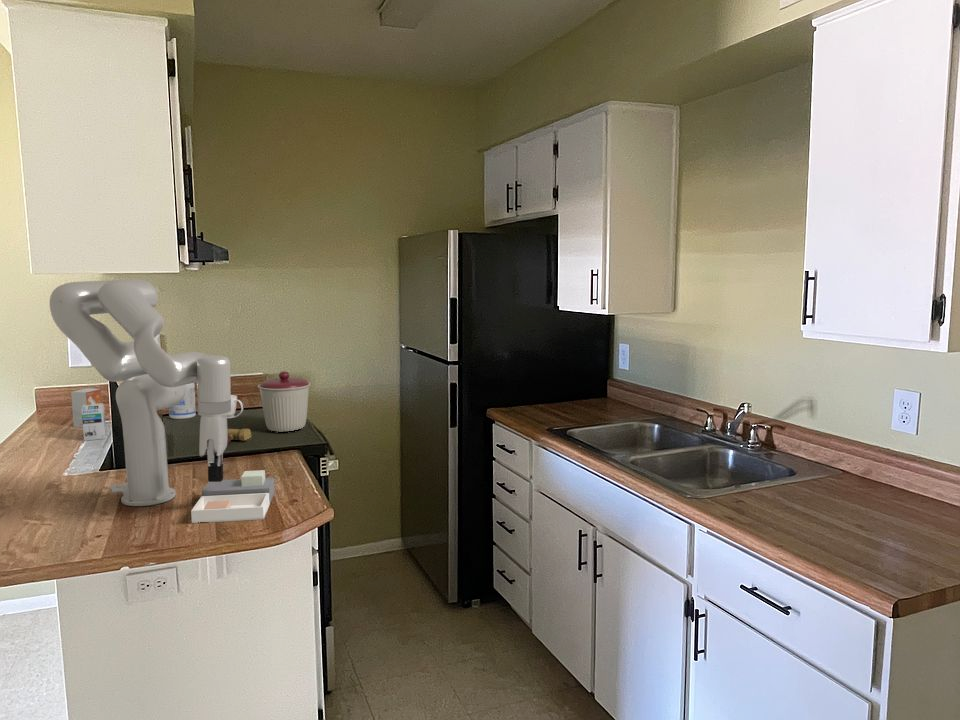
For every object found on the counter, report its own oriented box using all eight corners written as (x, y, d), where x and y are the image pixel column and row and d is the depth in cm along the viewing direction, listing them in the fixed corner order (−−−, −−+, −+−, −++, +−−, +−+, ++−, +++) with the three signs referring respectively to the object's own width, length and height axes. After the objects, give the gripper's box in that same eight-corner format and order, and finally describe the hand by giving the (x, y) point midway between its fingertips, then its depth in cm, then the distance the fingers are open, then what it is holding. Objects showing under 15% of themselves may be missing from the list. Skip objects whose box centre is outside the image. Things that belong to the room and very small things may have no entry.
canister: (289, 438, 245) (286, 376, 242) (248, 432, 252) (245, 373, 250) (322, 426, 261) (320, 369, 258) (283, 422, 269) (281, 366, 266)
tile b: (241, 486, 179) (241, 476, 179) (245, 480, 184) (244, 471, 184) (262, 485, 180) (262, 475, 180) (265, 479, 185) (264, 470, 185)
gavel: (216, 446, 222) (187, 445, 224) (217, 461, 223) (188, 459, 225) (251, 427, 242) (224, 425, 244) (252, 440, 243) (225, 438, 245)
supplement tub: (166, 420, 273) (164, 381, 271) (172, 414, 282) (170, 377, 280) (193, 419, 275) (191, 381, 273) (198, 413, 284) (196, 377, 282)
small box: (88, 427, 261) (85, 392, 260) (73, 426, 262) (70, 391, 261) (103, 422, 269) (101, 388, 267) (89, 422, 270) (86, 387, 269)
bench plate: (202, 507, 176) (201, 491, 176) (210, 495, 185) (209, 480, 185) (270, 503, 179) (269, 488, 178) (274, 492, 187) (274, 477, 187)
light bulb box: (105, 439, 244) (103, 408, 243) (83, 441, 241) (80, 409, 240) (106, 432, 254) (104, 402, 252) (84, 434, 251) (82, 404, 250)
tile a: (207, 501, 171) (208, 512, 172) (203, 509, 167) (204, 519, 167) (229, 500, 172) (230, 510, 173) (226, 507, 167) (226, 518, 168)
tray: (191, 523, 165) (191, 510, 165) (202, 508, 176) (201, 496, 175) (263, 519, 168) (263, 507, 167) (269, 504, 178) (269, 492, 178)
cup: (227, 414, 282) (225, 394, 281) (248, 416, 279) (247, 395, 278) (215, 418, 276) (214, 397, 274) (237, 420, 272) (236, 399, 271)
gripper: (204, 400, 179) (206, 471, 182) (190, 414, 165) (192, 491, 167) (236, 400, 180) (237, 471, 183) (224, 414, 166) (225, 490, 169)
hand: (215, 480), depth 175 cm, fingers closed
